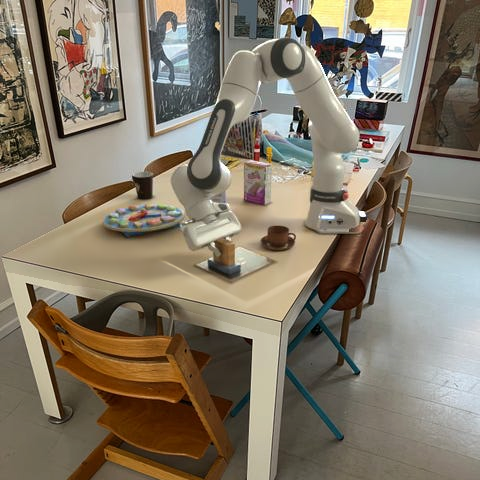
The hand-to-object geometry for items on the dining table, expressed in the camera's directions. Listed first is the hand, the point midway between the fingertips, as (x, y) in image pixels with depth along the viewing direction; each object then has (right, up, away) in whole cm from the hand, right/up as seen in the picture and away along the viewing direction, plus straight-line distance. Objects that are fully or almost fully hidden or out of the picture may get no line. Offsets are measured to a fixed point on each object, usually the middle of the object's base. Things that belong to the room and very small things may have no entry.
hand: (225, 253), depth 148 cm
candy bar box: (+12, +30, +57) cm, 66 cm away
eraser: (-1, -4, +3) cm, 5 cm away
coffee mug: (-38, +34, +63) cm, 81 cm away
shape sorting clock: (-32, +16, +35) cm, 50 cm away
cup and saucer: (+18, +5, +18) cm, 26 cm away
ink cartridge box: (-6, +21, +43) cm, 49 cm away
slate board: (+3, -3, +6) cm, 7 cm away
